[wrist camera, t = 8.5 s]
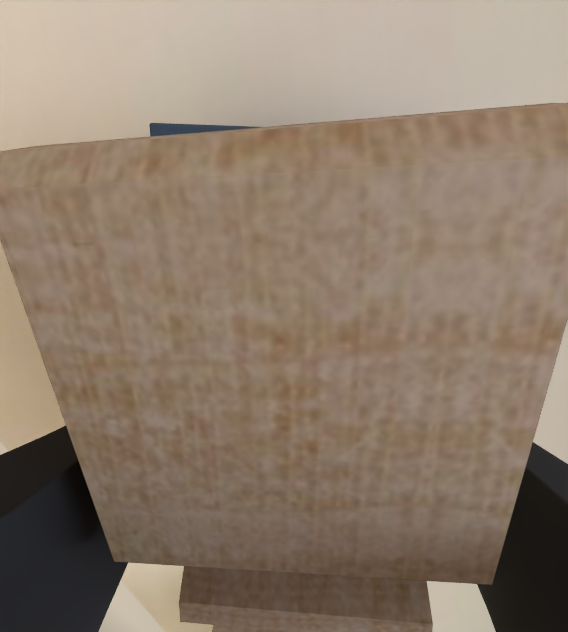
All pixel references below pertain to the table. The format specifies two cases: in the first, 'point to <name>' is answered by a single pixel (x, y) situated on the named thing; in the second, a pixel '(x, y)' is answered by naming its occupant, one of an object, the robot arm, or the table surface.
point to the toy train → (301, 349)
